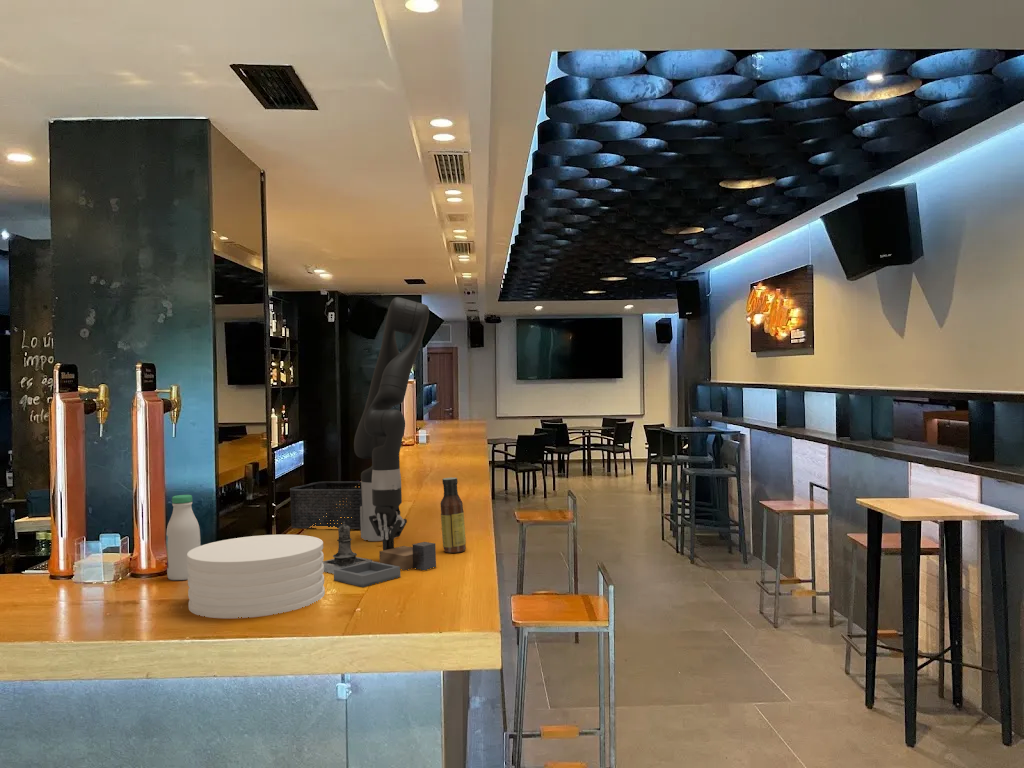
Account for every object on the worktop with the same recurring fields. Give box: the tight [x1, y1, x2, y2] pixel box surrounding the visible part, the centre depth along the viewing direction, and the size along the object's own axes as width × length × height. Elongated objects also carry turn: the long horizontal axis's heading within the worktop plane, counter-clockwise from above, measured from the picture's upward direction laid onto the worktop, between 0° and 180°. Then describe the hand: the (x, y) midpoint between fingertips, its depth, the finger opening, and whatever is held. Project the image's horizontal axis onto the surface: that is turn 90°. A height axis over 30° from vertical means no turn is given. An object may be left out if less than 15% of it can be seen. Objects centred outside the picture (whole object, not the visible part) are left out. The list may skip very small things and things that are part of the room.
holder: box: [322, 556, 373, 575], centre depth 196 cm, size 10×10×2 cm
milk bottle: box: [165, 494, 202, 581], centre depth 193 cm, size 8×8×20 cm
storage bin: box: [289, 481, 362, 530], centre depth 261 cm, size 29×19×13 cm
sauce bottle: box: [440, 477, 467, 554], centre depth 213 cm, size 6×6×20 cm
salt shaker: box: [332, 522, 358, 566], centre depth 196 cm, size 6×6×12 cm
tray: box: [333, 560, 401, 588], centre depth 185 cm, size 11×11×2 cm
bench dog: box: [411, 541, 437, 571], centre depth 194 cm, size 4×4×6 cm
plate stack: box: [187, 534, 326, 619], centre depth 170 cm, size 28×28×12 cm
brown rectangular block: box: [378, 545, 413, 571], centre depth 199 cm, size 10×8×4 cm
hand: (388, 553), depth 203 cm, fingers closed
